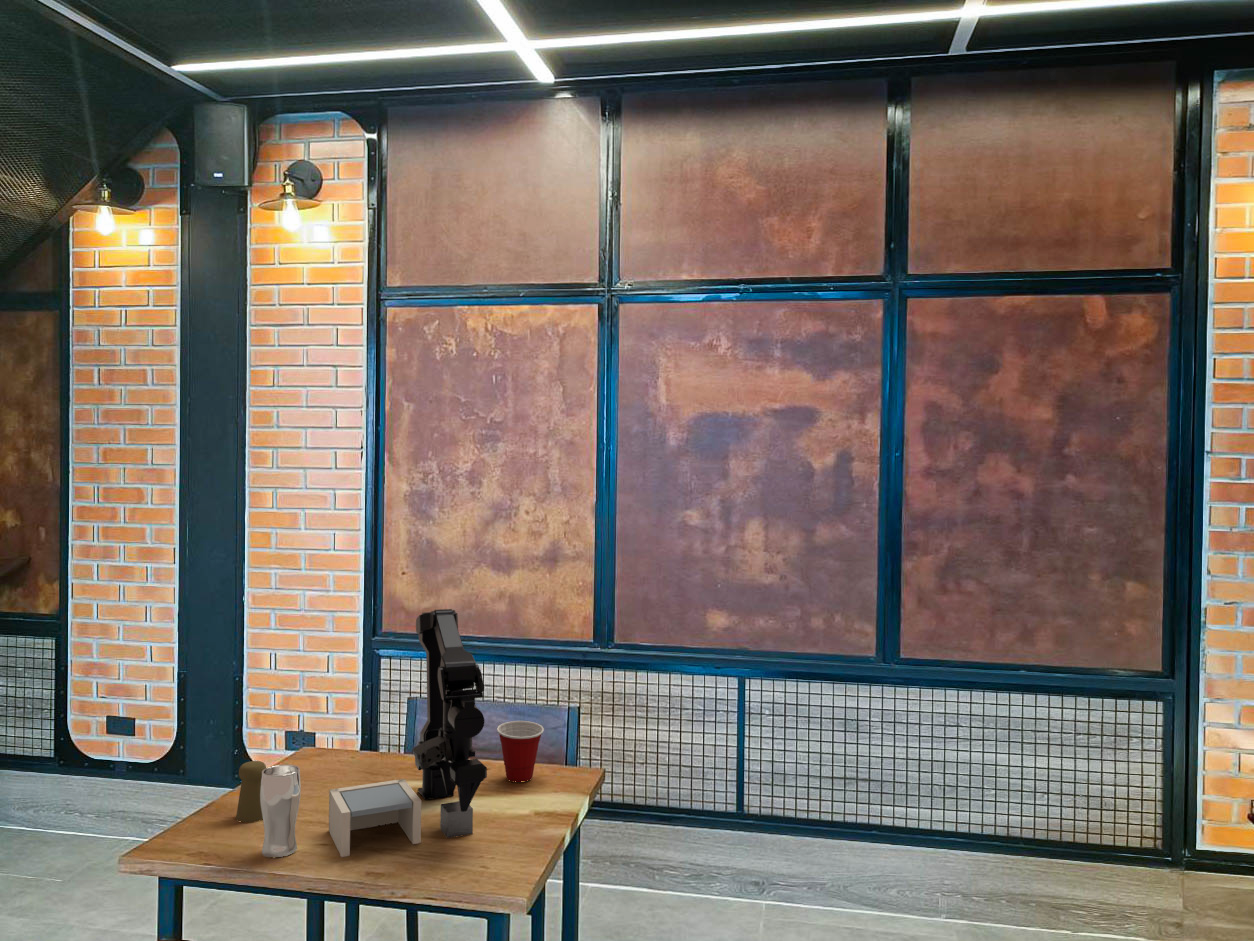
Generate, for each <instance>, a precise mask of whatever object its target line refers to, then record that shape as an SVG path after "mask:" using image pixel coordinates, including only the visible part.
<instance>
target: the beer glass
mask: <svg viewBox="0 0 1254 941" xmlns="http://www.w3.org/2000/svg"><path fill="white" fill-rule="evenodd" d="M300 768H301V767H300V766H298V765H296V764H276V765H272V766H268V767H266V769H264V770H263V771H262V779H261V789H260V804H261V812H262V818H263V820H262V821H263V828H264V831H263V832H264V837H263V844H262V849H261V855H262V856H263V855H264V856H263V857H265V856H266V857H265V858H268V857H281V858H284V857H283V856H286V857H288V855H289V856H291V855H293V854H294V853H295V851H296V852H297V850H298V844H297V840H296V824H297V818H298V813H299V808H300V802H301V791H302V790H301V789H302V787H301V771H300ZM292 853H293V854H292ZM290 854H291V855H290Z"/></svg>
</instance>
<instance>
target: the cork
mask: <svg viewBox="0 0 1254 941" xmlns="http://www.w3.org/2000/svg"><path fill="white" fill-rule="evenodd" d="M266 768H267V764H266V763H265V762H263V761H259V760H252V761H251V760H250V761H247V762H244V763H243V764H241V765H240V767H239V769H238V777H239V779H240V780H241V782H240V789H239V796H238V803H237V809H236V816H235V820H236V821H237V820H238V821H241V822H240V823H243V822H250V823H255V822H254V821H256V822H259V820H260V821H263V820H262V819H263V818H262V812H261V804H260V789H261V779H262V771H263V770H264V769H266ZM238 821H237V822H238Z"/></svg>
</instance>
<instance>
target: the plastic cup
mask: <svg viewBox="0 0 1254 941" xmlns="http://www.w3.org/2000/svg"><path fill="white" fill-rule="evenodd" d="M544 730H545V728H544V726H543V725H541V724H539V723H537V722H533V721H529V720H527V721H526V720H512V721H508V722H503V723H501V724H499V725H497V728H496V731H497V733H498V736H499V738H500V739H499V740H500V744H501V751H502V759H503V760H502V761H503V765H504V771H505V776H506V779H508V780H510V781H514V782H515V781H516V782H521V781H527V780H530V779H531V778H532V779H533V776H534V769H535V765H536V762H537V756H538V750H539V745H540V741H541V738H542V735H543V733H544ZM532 779H531V780H532ZM508 780H507V781H508ZM531 780H530V781H531ZM510 781H509V782H510ZM514 782H513V783H514Z"/></svg>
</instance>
